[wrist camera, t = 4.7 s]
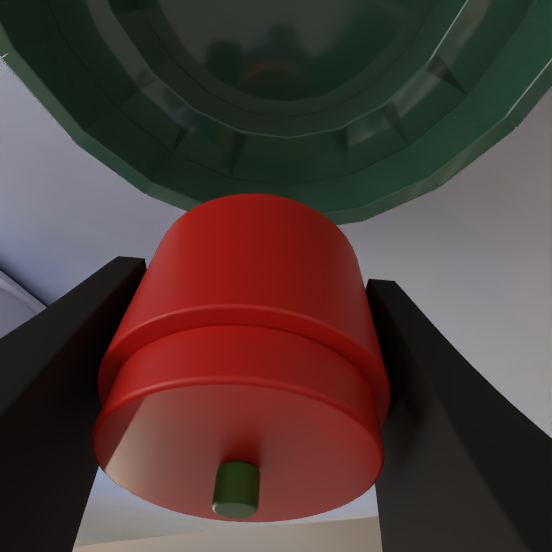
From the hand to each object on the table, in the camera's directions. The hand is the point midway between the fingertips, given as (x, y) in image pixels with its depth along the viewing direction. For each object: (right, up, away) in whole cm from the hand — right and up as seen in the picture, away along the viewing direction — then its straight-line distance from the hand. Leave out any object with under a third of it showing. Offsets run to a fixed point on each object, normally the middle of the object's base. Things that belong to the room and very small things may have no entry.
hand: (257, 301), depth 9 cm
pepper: (0, +1, +1) cm, 1 cm away
